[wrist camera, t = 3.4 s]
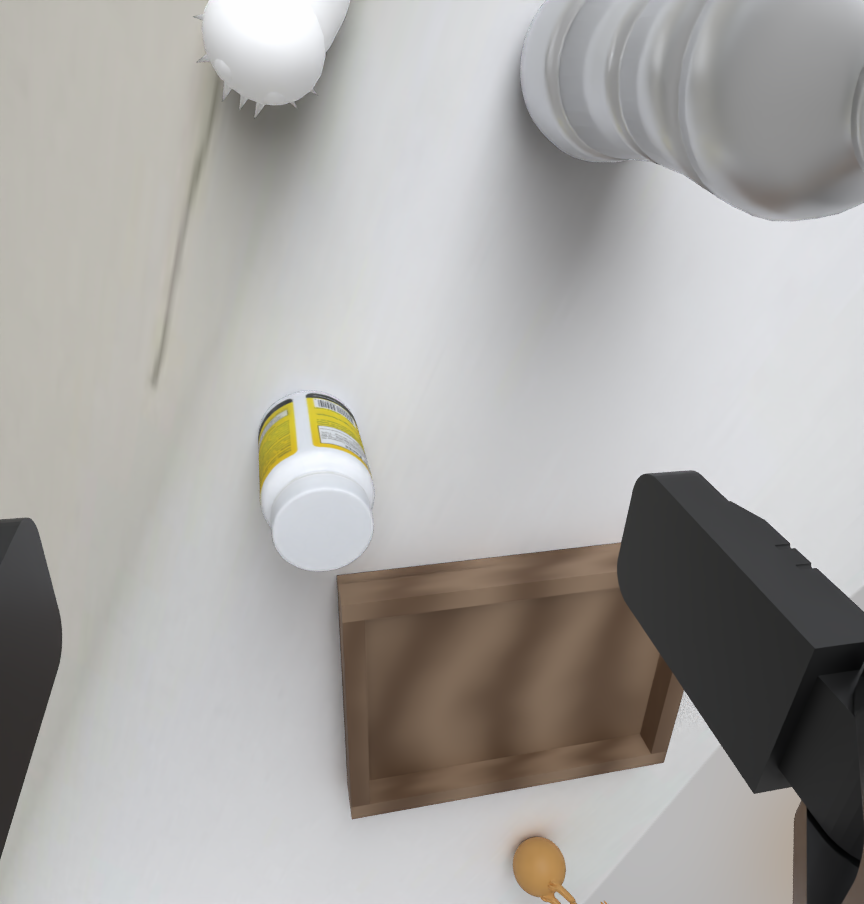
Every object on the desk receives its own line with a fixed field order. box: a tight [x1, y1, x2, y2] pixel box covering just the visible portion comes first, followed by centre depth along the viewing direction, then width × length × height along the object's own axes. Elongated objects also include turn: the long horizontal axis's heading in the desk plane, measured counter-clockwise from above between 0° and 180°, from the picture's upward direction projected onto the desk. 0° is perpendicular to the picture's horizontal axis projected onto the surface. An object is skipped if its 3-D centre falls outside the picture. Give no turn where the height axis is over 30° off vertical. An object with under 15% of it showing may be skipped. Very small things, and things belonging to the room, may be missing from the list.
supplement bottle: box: [258, 391, 375, 572], centre depth 32 cm, size 5×5×8 cm
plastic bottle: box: [520, 0, 864, 221], centre depth 21 cm, size 6×7×20 cm
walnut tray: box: [337, 543, 684, 819], centre depth 45 cm, size 22×18×2 cm
